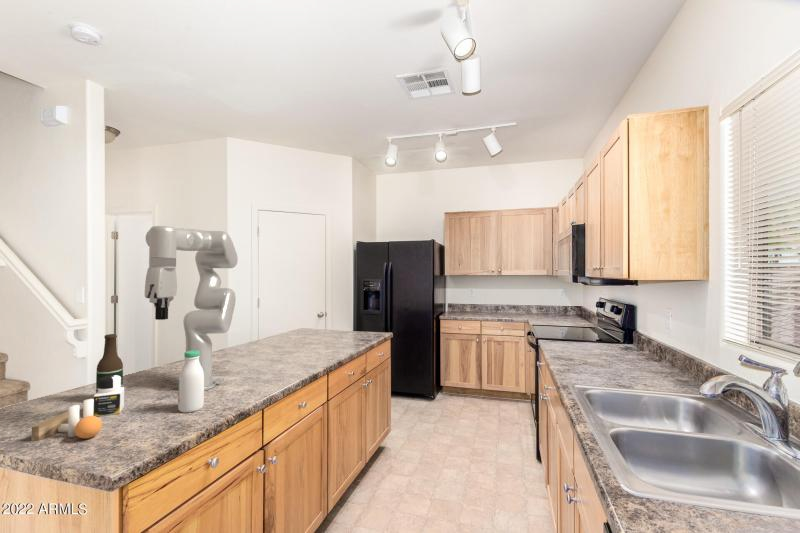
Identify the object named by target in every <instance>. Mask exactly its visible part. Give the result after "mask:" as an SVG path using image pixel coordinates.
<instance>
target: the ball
mask: <svg viewBox="0 0 800 533" xmlns="http://www.w3.org/2000/svg"><path fill="white" fill-rule="evenodd" d="M102 427H103V421H102V419H101V418H100V417H96V416H88V417H85V418H83V417H82V418H81V419H79V422H78V423H77V425H76V427H75V433H76V435H77V436H76V437H78V438H79V439H90V438H93V437H95V436H96V435H98V434H99V433H100V432H101V431H102V430H101V429H102Z"/></svg>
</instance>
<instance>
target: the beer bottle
mask: <svg viewBox="0 0 800 533" xmlns="http://www.w3.org/2000/svg"><path fill="white" fill-rule="evenodd" d="M117 337H118V334H114V333H109V334H105V335H104V348H103V355H102V358H100V360H99V361H98V363H97V365H96V373H95V374H96V375H95V377H96V380H95V381H96V382H95V384H96V385H95V394H96V393H97V392H98V380H99V379H100V378H102V377H105V376H110V375H118V376H120V377H121V387H124V382H123V381H124V363H123V360H122V359H121V358H120V357H119V356H118V351H117V350H118V349H117Z"/></svg>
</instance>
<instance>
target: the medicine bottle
mask: <svg viewBox="0 0 800 533" xmlns="http://www.w3.org/2000/svg"><path fill="white" fill-rule="evenodd" d="M93 399H94V411H93V416H99V417H105V416H104V415H107V416H113V415H112V414H114V415H120V414H121V412H122V410H123V409H124V407H125V387H124V386H123V387H121V377H120V376H118V375H110V376H105V377H102V378H100V379H99V380H98V392H97V393H96V392H95V394H94V395H93ZM119 413H120V414H119Z"/></svg>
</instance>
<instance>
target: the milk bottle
mask: <svg viewBox="0 0 800 533" xmlns="http://www.w3.org/2000/svg"><path fill="white" fill-rule="evenodd" d="M199 355H200V352H199V351H196V350H193V351H187V352H186V351H185V352H184V364H183V366H182V368H181V370H180V372H179V376H178V394H177V395H178V396H177V397H178V400H177V401H178V402H177V404H178V405H177V406H178V408H177V409H178V412H180V413H194V412H197V411H200V410H202V409H203V408H204V404H205V390H204V372H203V369H202V367H201V365H200V362H199Z"/></svg>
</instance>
